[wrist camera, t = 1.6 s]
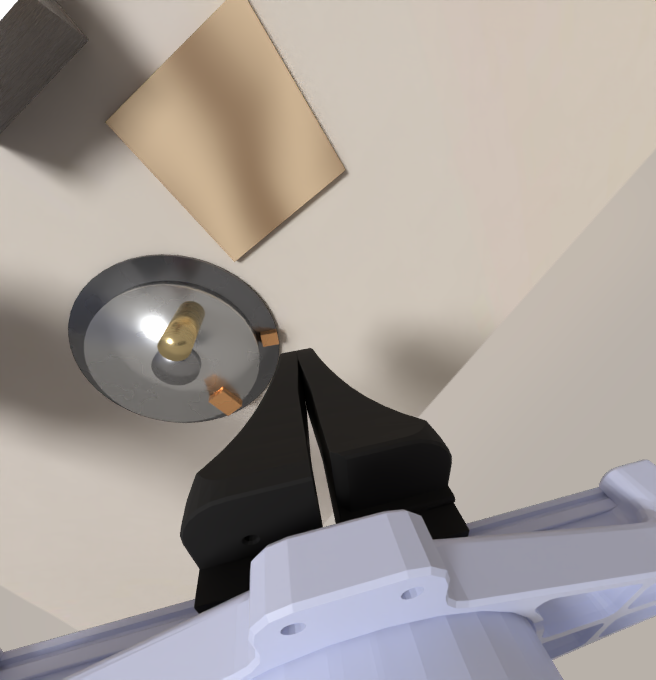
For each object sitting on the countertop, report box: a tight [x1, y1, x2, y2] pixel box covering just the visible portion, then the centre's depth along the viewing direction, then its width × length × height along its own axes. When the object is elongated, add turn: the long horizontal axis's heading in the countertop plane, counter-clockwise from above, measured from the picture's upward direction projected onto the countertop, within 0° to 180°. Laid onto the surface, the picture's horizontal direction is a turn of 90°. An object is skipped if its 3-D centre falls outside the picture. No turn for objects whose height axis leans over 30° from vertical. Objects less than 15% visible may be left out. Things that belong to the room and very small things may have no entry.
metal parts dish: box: [68, 254, 279, 423], centre depth 22 cm, size 14×14×1 cm
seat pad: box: [105, 0, 345, 262], centre depth 17 cm, size 9×9×1 cm
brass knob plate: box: [84, 280, 259, 422], centre depth 19 cm, size 11×11×6 cm
